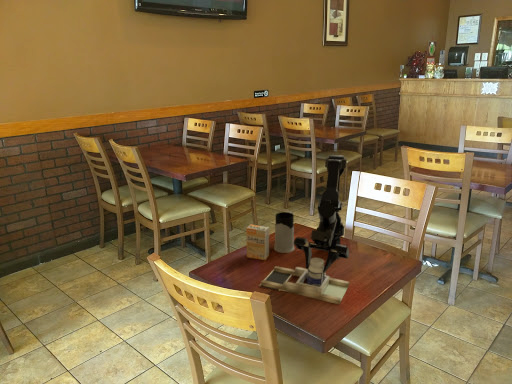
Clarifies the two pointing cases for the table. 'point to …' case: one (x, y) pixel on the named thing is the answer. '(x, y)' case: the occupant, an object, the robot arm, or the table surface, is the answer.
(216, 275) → the table surface
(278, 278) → the tray
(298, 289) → the oak channel
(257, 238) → the supplement box
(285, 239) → the glass holder
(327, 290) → the pad
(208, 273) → the table surface
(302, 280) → the collar carriage
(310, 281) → the pill bottle
